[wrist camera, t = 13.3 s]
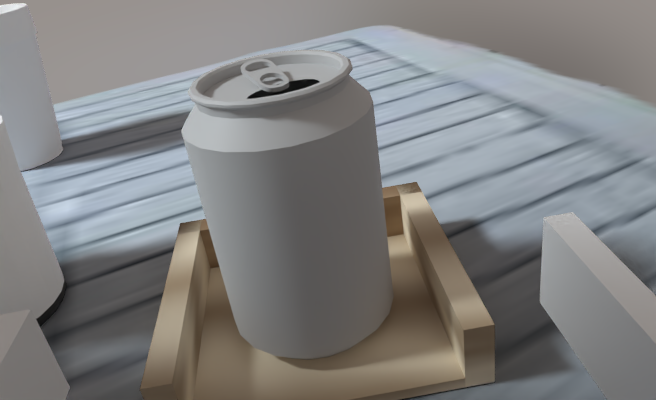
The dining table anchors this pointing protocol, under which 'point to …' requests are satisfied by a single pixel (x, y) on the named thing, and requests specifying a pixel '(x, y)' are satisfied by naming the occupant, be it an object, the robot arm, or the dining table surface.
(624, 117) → the dining table surface
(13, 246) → the mug
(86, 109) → the dining table surface
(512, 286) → the dining table surface
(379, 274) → the can
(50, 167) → the dining table surface
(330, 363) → the holder
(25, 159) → the foam cup
